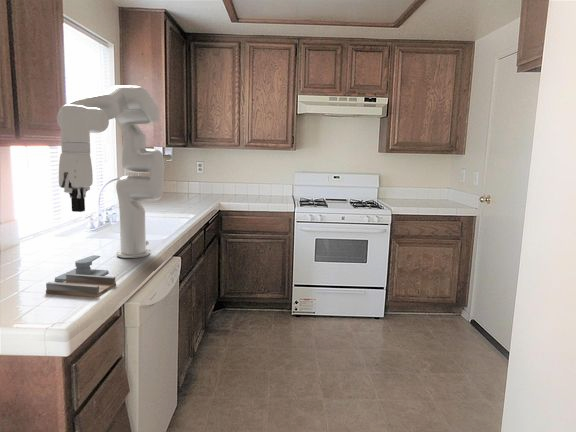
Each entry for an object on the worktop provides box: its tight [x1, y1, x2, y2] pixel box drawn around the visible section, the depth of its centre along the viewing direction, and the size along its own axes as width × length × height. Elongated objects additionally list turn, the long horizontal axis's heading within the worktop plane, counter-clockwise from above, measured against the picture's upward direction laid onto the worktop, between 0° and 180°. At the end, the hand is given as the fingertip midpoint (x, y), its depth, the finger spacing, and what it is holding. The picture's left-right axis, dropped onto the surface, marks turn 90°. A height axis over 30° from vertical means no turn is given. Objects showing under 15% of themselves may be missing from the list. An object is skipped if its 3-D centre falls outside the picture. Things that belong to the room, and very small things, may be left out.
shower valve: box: [54, 255, 109, 283], centre depth 145 cm, size 12×6×15 cm
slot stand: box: [45, 274, 117, 298], centre depth 132 cm, size 11×16×3 cm
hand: (78, 211), depth 128 cm, fingers closed
